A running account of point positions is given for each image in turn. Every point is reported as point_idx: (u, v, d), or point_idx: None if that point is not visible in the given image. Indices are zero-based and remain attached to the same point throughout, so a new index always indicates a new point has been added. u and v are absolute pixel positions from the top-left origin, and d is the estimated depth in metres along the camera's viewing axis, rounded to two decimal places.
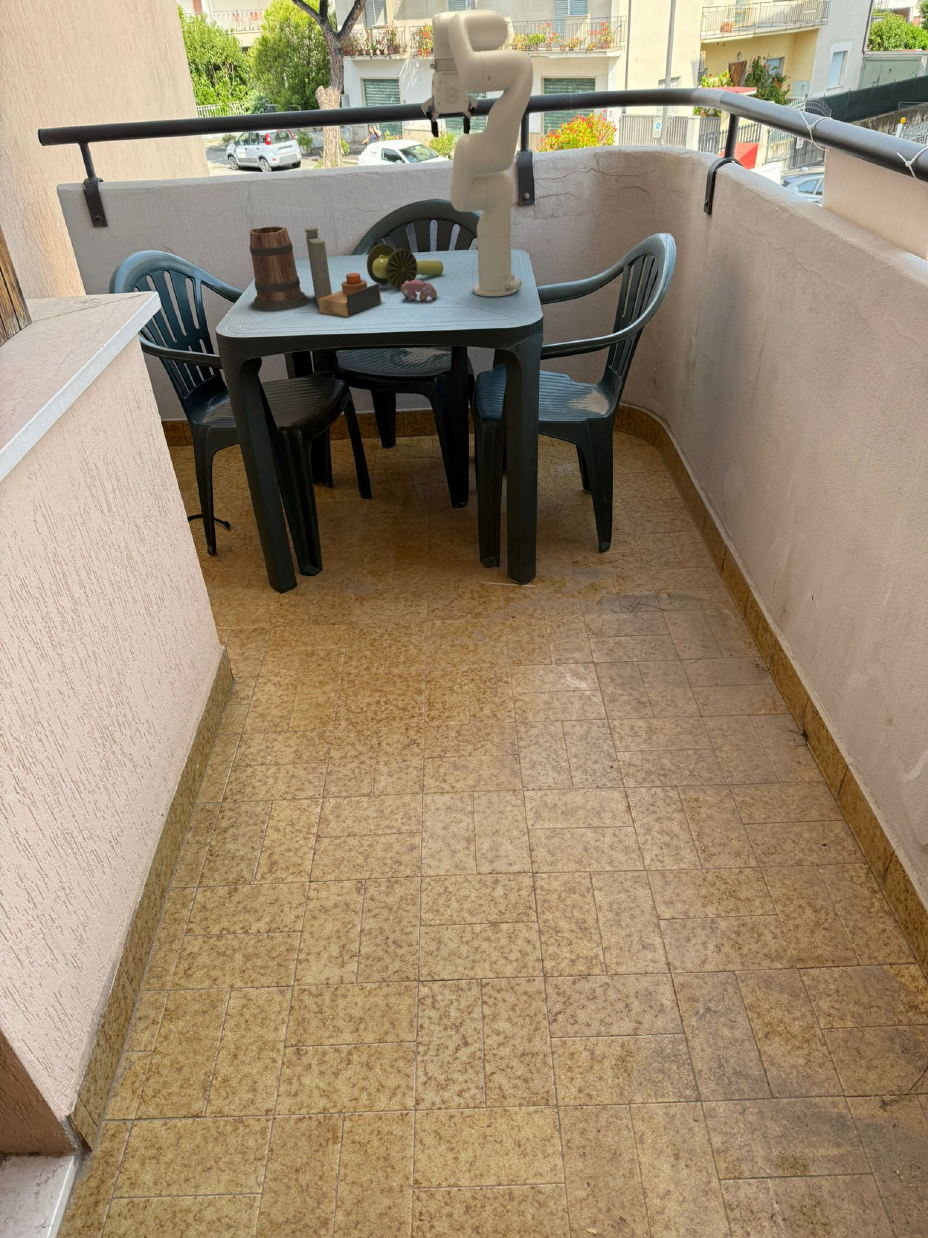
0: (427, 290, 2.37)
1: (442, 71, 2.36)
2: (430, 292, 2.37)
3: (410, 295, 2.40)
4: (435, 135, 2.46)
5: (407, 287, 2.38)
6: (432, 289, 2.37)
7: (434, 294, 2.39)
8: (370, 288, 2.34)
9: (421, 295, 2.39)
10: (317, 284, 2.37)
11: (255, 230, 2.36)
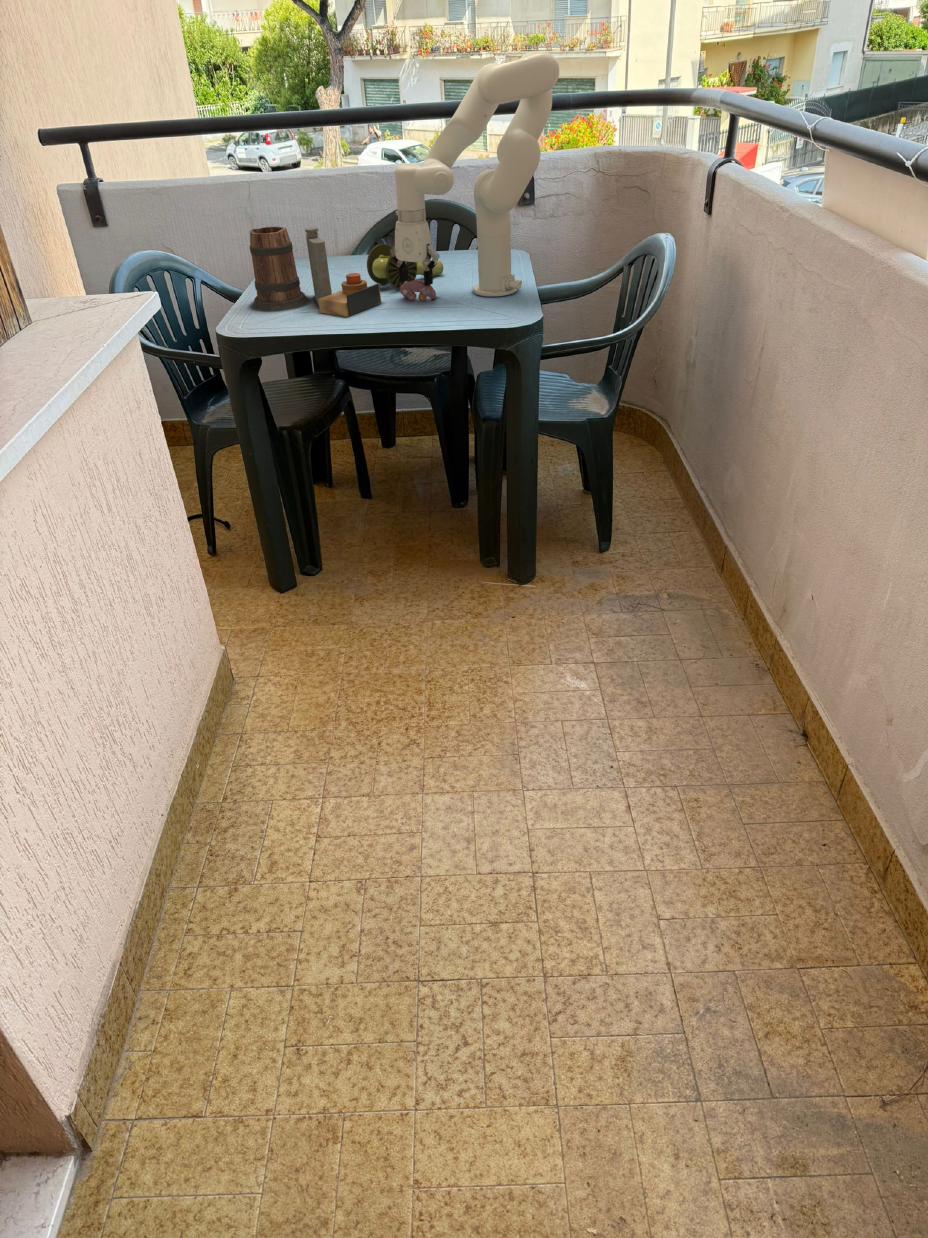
0: (426, 291, 2.37)
1: (398, 221, 2.28)
2: (429, 292, 2.37)
3: (409, 295, 2.40)
4: None
5: (406, 287, 2.38)
6: (431, 289, 2.37)
7: (433, 294, 2.39)
8: (370, 288, 2.34)
9: (420, 295, 2.39)
10: (317, 284, 2.37)
11: (255, 230, 2.36)
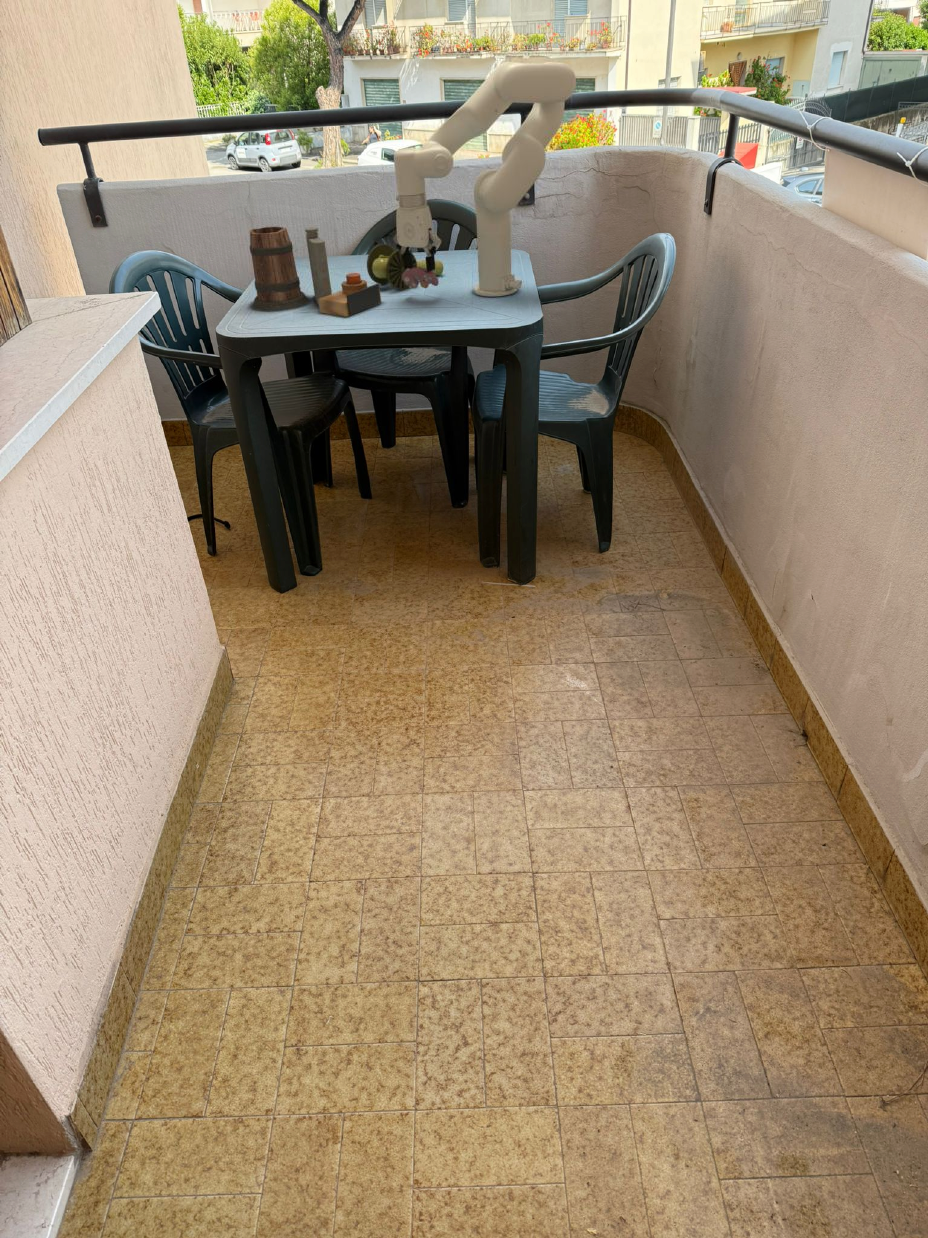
0: (428, 278, 2.35)
1: (399, 206, 2.26)
2: (431, 279, 2.36)
3: (411, 283, 2.39)
4: None
5: (408, 274, 2.36)
6: (433, 276, 2.36)
7: (435, 281, 2.38)
8: (370, 288, 2.34)
9: (422, 283, 2.37)
10: (317, 284, 2.37)
11: (255, 230, 2.36)
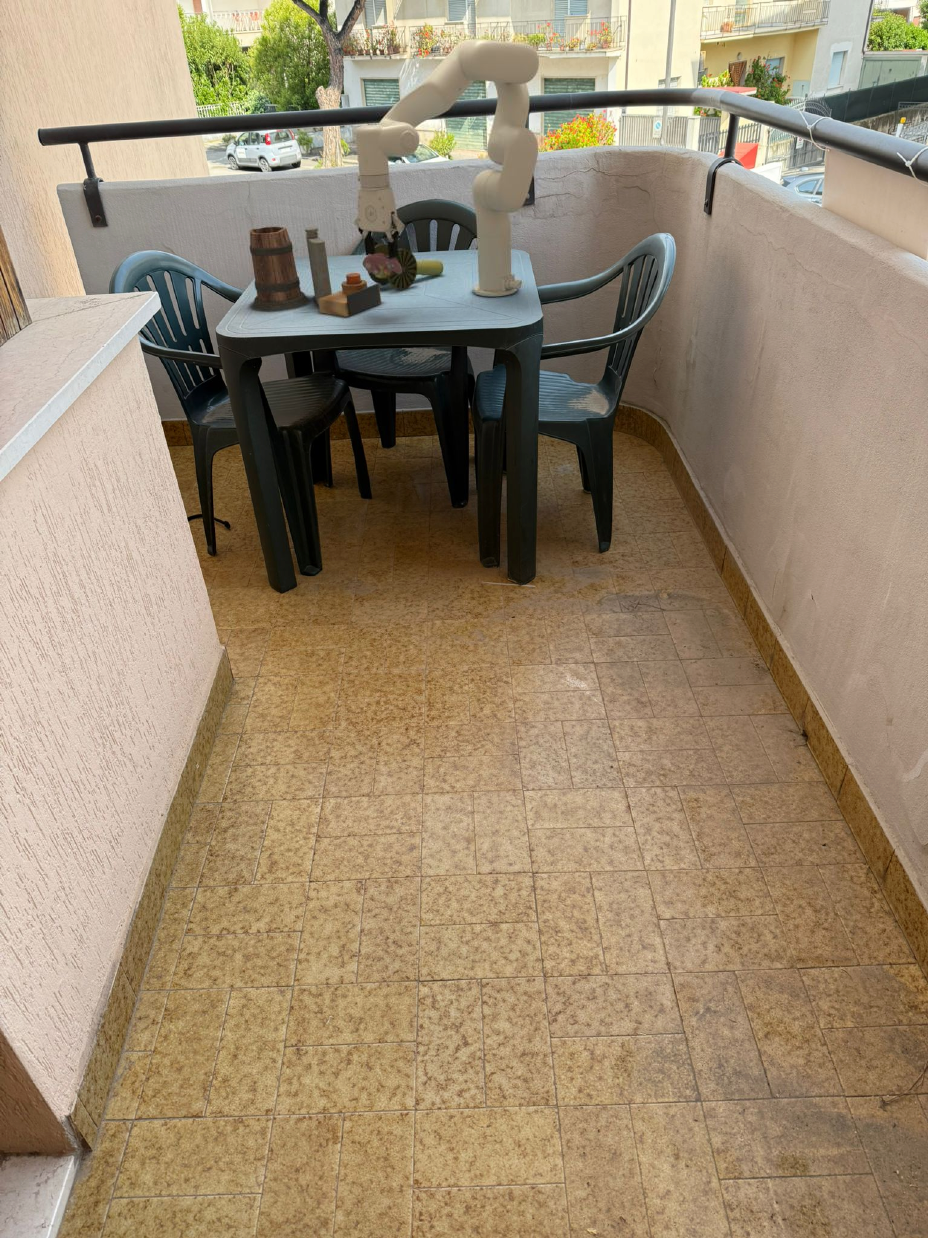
0: (390, 265, 2.21)
1: (360, 187, 2.13)
2: (394, 267, 2.22)
3: (373, 270, 2.25)
4: None
5: (369, 260, 2.22)
6: (396, 263, 2.22)
7: (398, 269, 2.24)
8: (370, 288, 2.34)
9: (384, 270, 2.24)
10: (317, 284, 2.37)
11: (255, 230, 2.36)
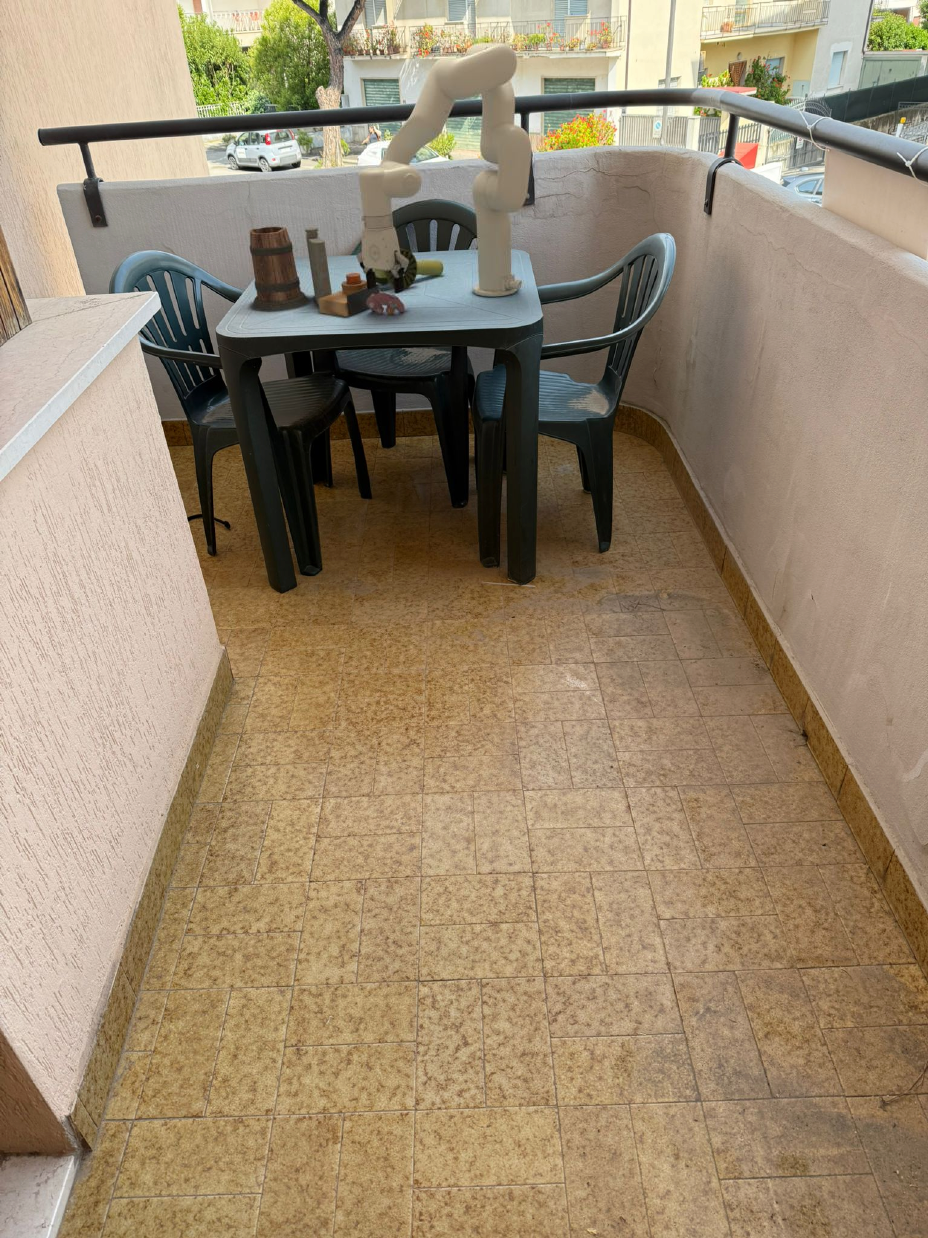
0: (393, 304, 2.27)
1: (364, 227, 2.18)
2: (397, 306, 2.27)
3: (376, 309, 2.30)
4: None
5: (373, 300, 2.28)
6: (399, 303, 2.28)
7: (401, 308, 2.29)
8: None
9: (388, 309, 2.29)
10: (317, 284, 2.37)
11: (255, 230, 2.36)
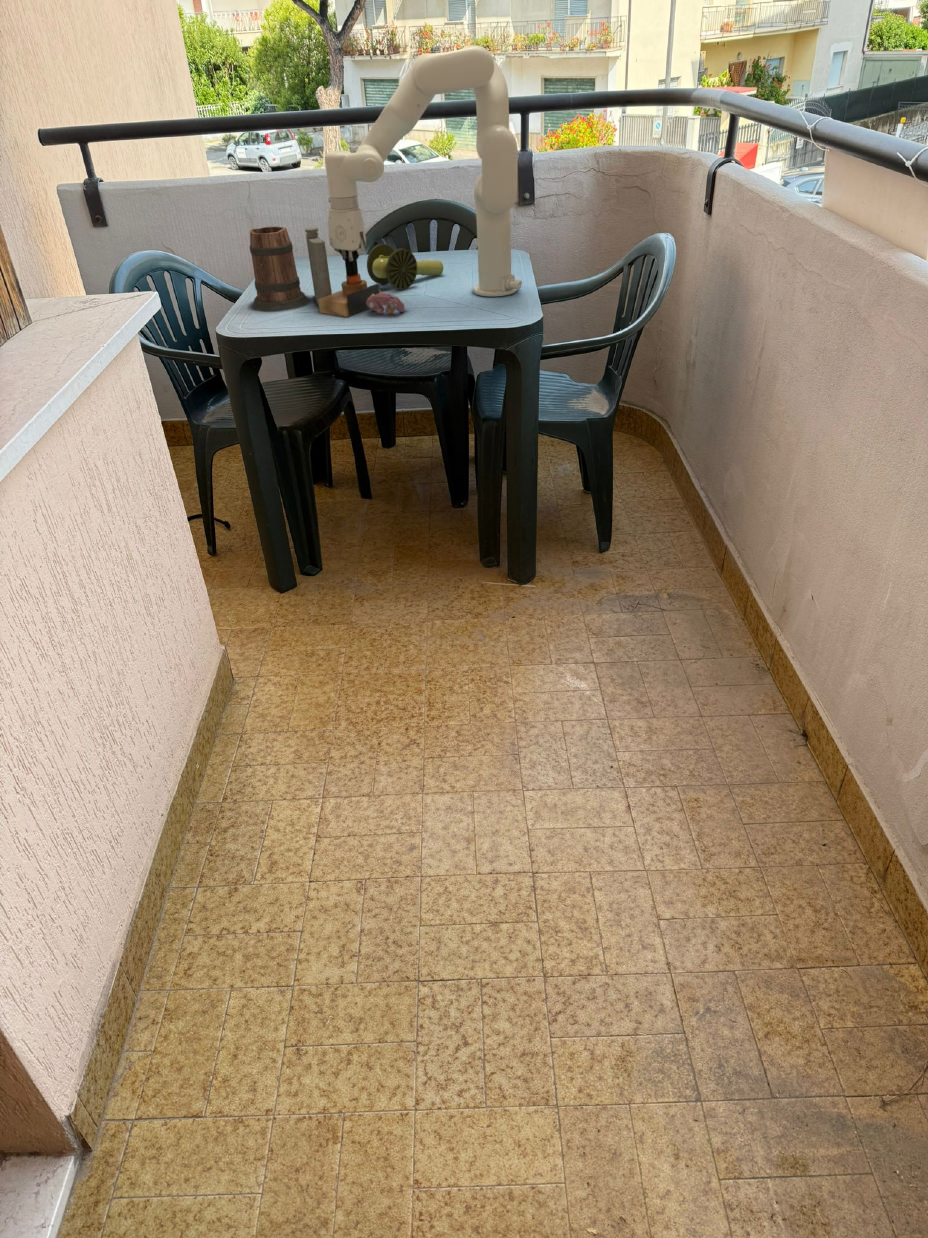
0: (393, 304, 2.27)
1: None
2: (397, 306, 2.27)
3: (376, 309, 2.30)
4: None
5: (373, 300, 2.28)
6: (399, 303, 2.28)
7: (401, 308, 2.29)
8: (370, 288, 2.34)
9: (388, 309, 2.29)
10: (317, 284, 2.37)
11: (255, 230, 2.36)
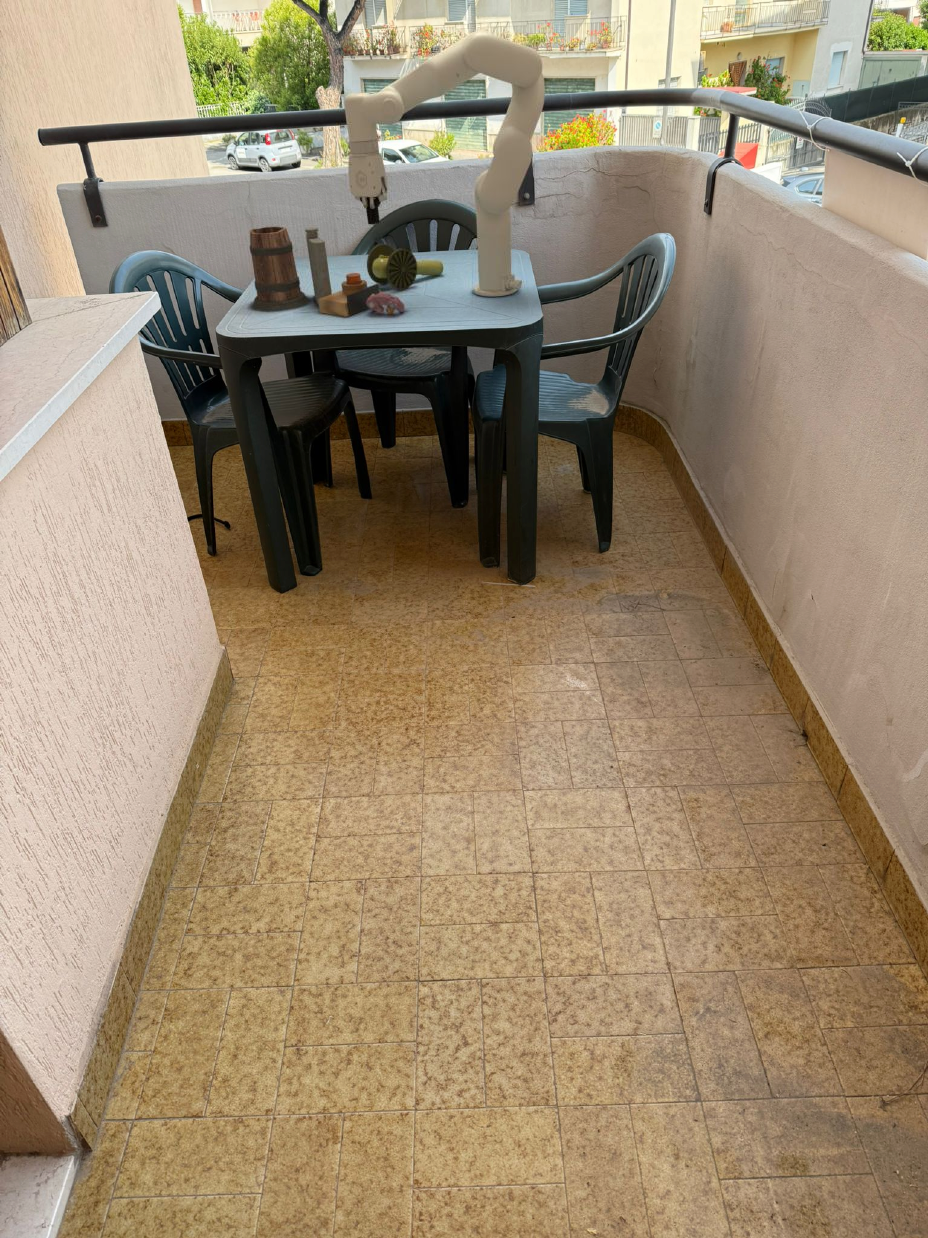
0: (393, 304, 2.27)
1: None
2: (397, 306, 2.27)
3: (376, 309, 2.30)
4: None
5: (373, 300, 2.28)
6: (399, 303, 2.28)
7: (401, 308, 2.29)
8: (370, 288, 2.34)
9: (388, 309, 2.29)
10: (317, 284, 2.37)
11: (255, 230, 2.36)
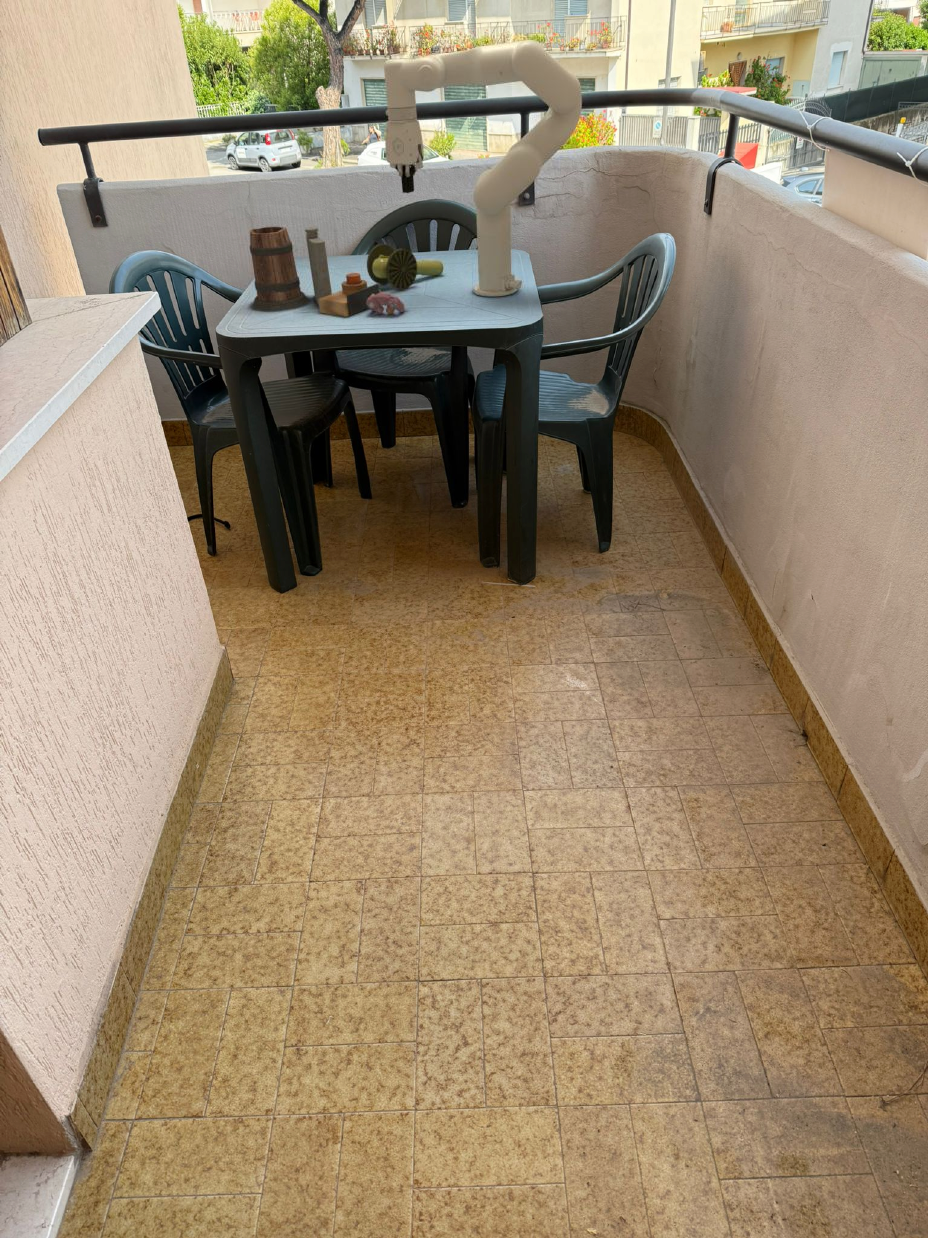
0: (393, 304, 2.27)
1: None
2: (397, 306, 2.27)
3: (376, 309, 2.30)
4: None
5: (373, 300, 2.28)
6: (399, 303, 2.28)
7: (401, 308, 2.29)
8: (370, 288, 2.34)
9: (388, 309, 2.29)
10: (317, 284, 2.37)
11: (255, 230, 2.36)
